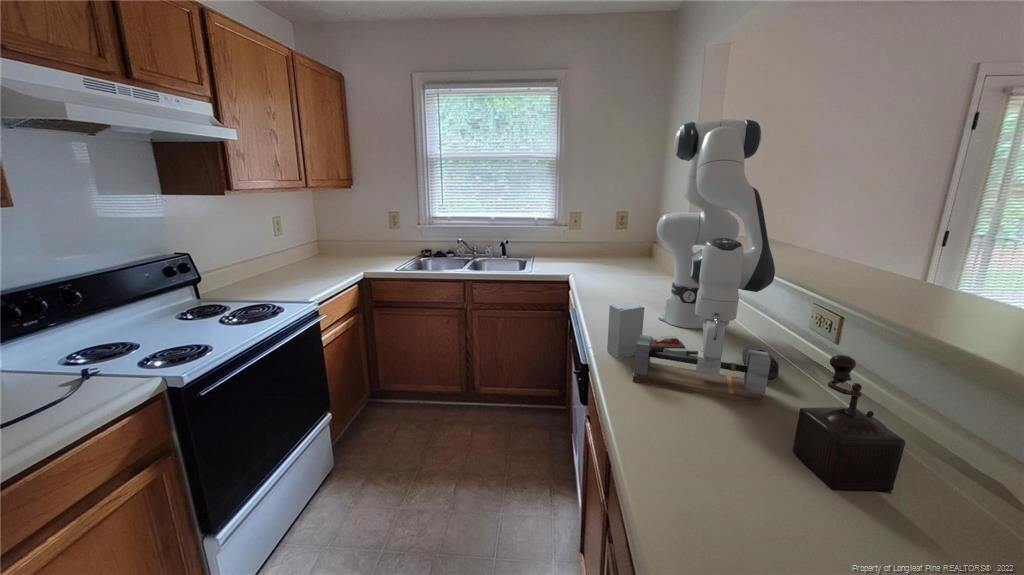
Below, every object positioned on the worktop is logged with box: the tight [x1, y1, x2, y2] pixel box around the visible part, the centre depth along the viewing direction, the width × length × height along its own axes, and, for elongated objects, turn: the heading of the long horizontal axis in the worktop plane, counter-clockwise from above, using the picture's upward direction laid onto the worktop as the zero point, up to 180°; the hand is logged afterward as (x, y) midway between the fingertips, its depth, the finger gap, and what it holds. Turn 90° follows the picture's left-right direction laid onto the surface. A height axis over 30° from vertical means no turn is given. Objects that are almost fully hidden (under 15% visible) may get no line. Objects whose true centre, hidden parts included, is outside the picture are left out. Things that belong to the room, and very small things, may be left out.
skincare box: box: [606, 301, 646, 359], centre depth 119 cm, size 8×6×15 cm
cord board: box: [632, 334, 771, 406], centre depth 101 cm, size 10×29×10 cm, turn 66°
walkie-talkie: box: [651, 335, 703, 356], centre depth 122 cm, size 9×4×20 cm
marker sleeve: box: [695, 350, 722, 376], centre depth 100 cm, size 4×5×4 cm
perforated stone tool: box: [741, 344, 780, 382], centre depth 109 cm, size 15×5×7 cm, turn 170°
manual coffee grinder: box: [792, 354, 906, 492], centre depth 72 cm, size 16×11×18 cm
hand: (708, 362), depth 100 cm, fingers closed on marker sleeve, 4 cm apart
